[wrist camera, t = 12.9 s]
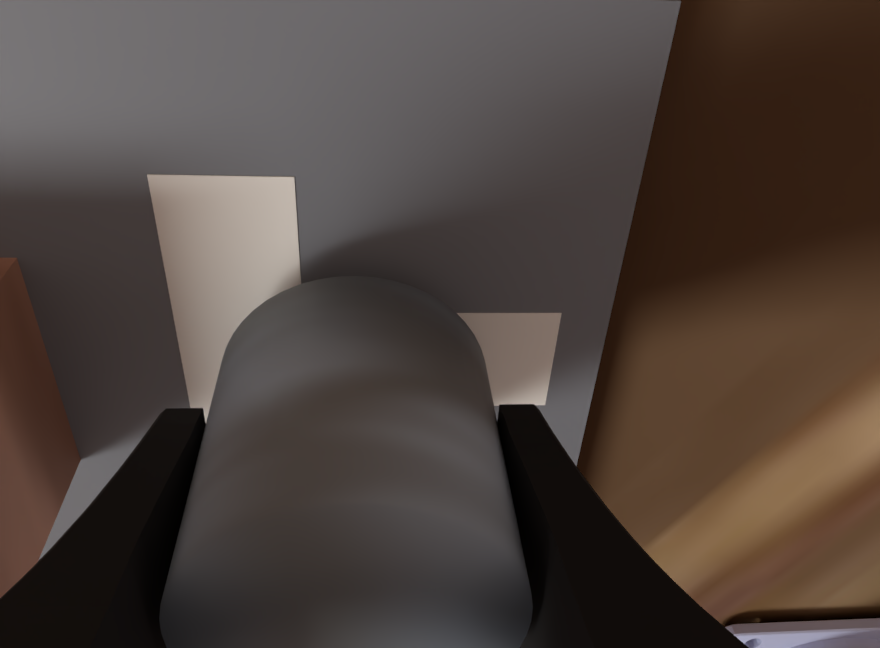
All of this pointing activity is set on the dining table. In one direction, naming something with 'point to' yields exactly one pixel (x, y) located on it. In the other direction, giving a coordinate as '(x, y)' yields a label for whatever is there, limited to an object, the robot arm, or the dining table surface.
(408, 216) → the board
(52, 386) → the terracotta block
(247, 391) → the slate cylinder
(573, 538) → the robot arm
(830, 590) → the dining table surface
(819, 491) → the dining table surface
